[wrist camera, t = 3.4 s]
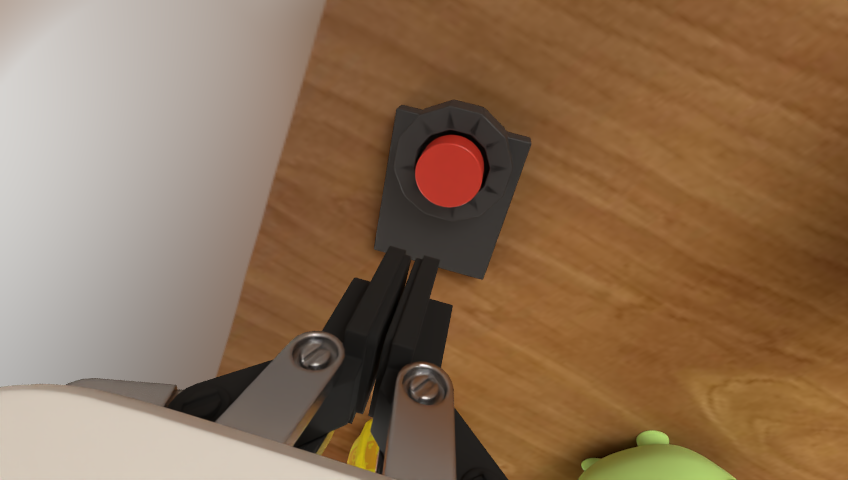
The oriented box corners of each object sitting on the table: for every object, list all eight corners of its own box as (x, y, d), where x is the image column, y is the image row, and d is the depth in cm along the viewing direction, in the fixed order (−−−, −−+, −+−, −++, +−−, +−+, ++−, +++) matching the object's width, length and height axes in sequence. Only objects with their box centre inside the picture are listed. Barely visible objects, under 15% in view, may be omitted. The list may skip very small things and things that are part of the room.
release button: (428, 126, 21) (421, 135, 20) (492, 143, 21) (490, 153, 20) (415, 186, 23) (409, 198, 22) (474, 202, 23) (472, 215, 21)
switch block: (404, 82, 23) (391, 90, 20) (538, 116, 22) (542, 129, 20) (378, 241, 29) (365, 263, 26) (483, 270, 28) (481, 296, 26)
